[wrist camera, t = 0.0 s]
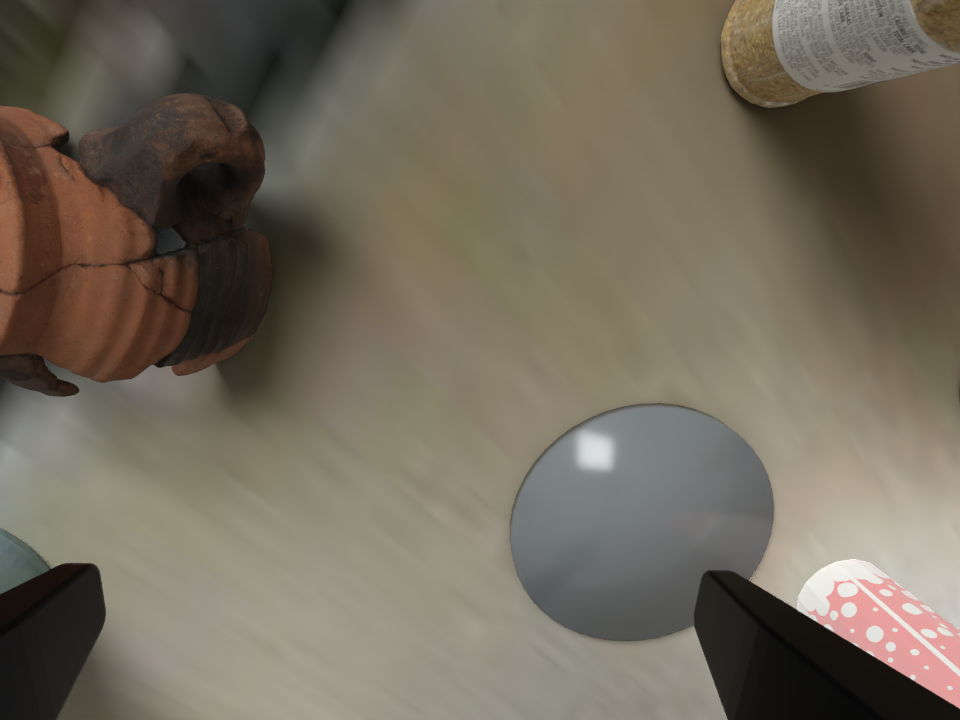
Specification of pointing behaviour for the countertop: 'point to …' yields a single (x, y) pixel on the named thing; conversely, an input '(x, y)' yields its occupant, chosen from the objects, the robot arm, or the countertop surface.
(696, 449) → the coaster
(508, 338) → the countertop surface
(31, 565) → the drinking glass
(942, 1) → the sprinkles bottle
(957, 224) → the countertop surface
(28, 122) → the pottery mug
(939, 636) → the beverage cup
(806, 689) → the robot arm
